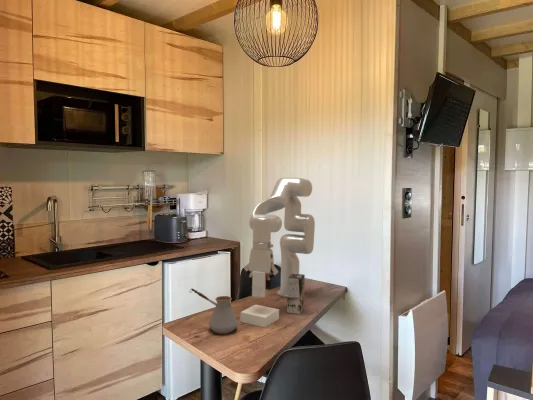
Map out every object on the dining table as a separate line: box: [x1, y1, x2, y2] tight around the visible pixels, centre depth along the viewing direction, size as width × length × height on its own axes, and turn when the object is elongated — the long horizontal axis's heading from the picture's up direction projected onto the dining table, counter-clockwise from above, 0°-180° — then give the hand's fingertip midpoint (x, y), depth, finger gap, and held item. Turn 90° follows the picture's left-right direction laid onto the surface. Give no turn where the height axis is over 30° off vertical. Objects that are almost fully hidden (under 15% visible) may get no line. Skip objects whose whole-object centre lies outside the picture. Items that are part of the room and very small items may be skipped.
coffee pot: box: [189, 288, 239, 335], centre depth 160 cm, size 21×12×15 cm, turn 67°
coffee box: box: [286, 273, 306, 315], centre depth 183 cm, size 9×6×16 cm
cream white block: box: [240, 304, 280, 328], centre depth 171 cm, size 12×12×4 cm
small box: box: [251, 271, 269, 298], centre depth 170 cm, size 8×6×10 cm
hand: (260, 287), depth 170 cm, fingers closed on small box, 6 cm apart
